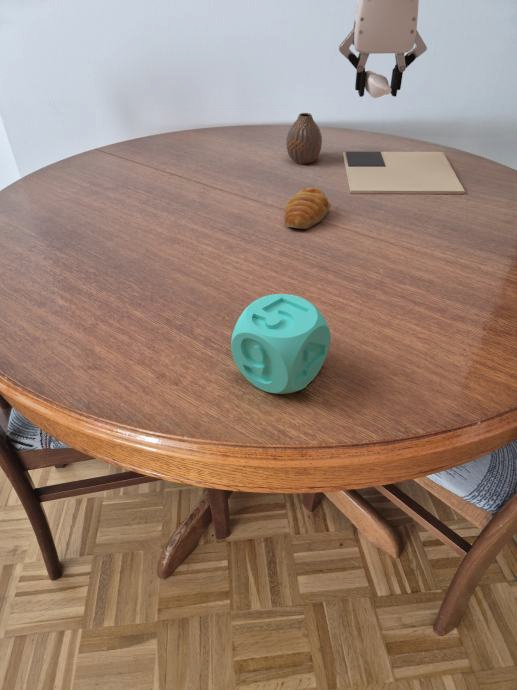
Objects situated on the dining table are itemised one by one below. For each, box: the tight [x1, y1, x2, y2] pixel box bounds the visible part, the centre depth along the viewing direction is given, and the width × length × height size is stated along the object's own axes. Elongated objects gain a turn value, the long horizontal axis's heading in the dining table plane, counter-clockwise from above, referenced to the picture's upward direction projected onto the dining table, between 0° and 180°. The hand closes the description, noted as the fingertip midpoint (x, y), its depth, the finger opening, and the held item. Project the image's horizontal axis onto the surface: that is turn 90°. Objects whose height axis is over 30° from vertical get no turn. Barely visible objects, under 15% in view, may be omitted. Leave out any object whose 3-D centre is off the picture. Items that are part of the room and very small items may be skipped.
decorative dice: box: [230, 293, 331, 395], centre depth 60 cm, size 8×8×8 cm
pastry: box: [284, 187, 332, 230], centre depth 88 cm, size 9×7×4 cm
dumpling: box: [365, 70, 392, 99], centre depth 96 cm, size 7×5×4 cm
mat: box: [342, 151, 466, 195], centre depth 103 cm, size 20×18×1 cm
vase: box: [285, 112, 323, 165], centre depth 105 cm, size 7×7×9 cm
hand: (377, 93), depth 97 cm, fingers closed on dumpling, 5 cm apart
